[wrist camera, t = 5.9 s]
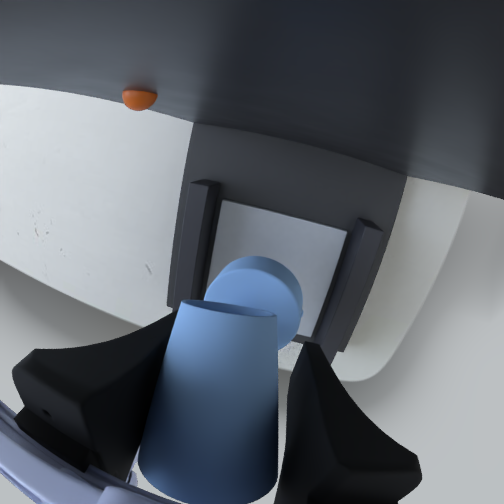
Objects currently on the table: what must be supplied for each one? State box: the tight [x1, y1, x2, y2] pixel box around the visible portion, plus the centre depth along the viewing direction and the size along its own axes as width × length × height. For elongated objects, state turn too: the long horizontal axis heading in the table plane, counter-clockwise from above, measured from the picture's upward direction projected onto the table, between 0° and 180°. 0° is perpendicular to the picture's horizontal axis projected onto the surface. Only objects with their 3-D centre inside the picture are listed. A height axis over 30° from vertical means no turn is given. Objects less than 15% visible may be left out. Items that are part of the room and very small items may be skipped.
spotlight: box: [138, 256, 303, 504], centre depth 10 cm, size 5×10×7 cm
